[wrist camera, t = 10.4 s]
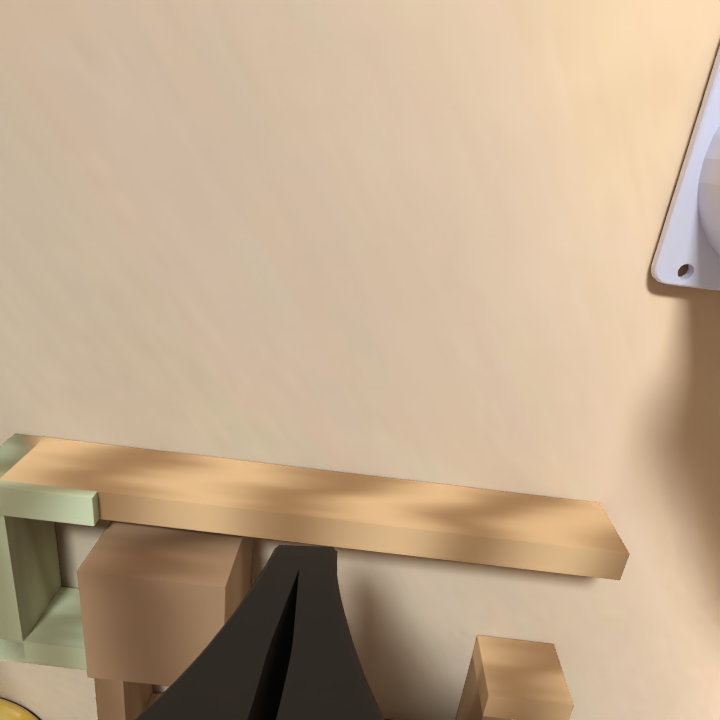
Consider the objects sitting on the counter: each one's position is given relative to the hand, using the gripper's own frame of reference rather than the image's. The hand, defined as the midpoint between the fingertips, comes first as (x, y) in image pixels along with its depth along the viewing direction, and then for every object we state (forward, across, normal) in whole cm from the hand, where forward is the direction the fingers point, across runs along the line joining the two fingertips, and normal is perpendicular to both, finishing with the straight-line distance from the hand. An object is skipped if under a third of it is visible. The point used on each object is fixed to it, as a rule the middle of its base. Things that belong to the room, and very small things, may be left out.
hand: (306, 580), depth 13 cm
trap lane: (+9, +2, +11) cm, 14 cm away
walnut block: (+10, +6, +7) cm, 13 cm away
